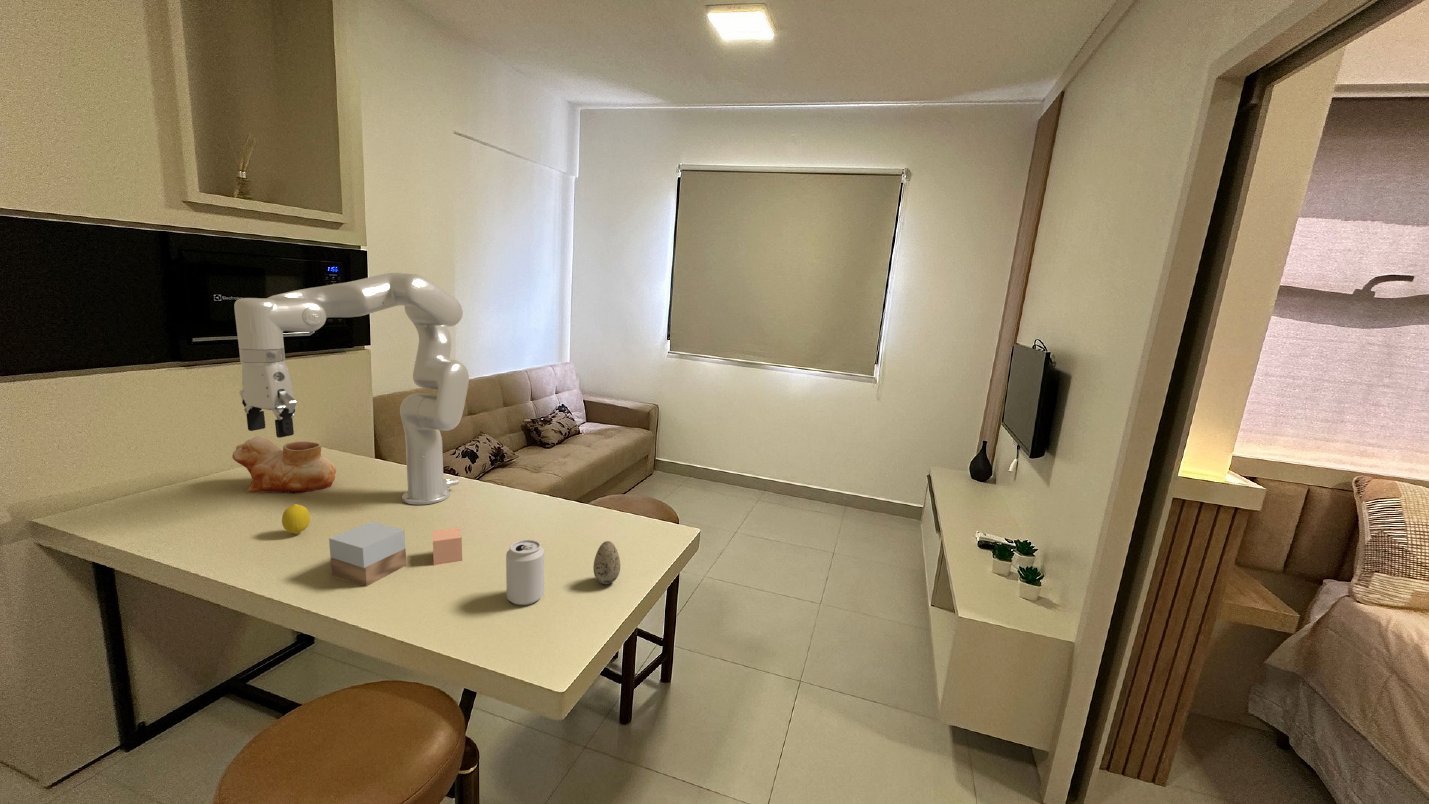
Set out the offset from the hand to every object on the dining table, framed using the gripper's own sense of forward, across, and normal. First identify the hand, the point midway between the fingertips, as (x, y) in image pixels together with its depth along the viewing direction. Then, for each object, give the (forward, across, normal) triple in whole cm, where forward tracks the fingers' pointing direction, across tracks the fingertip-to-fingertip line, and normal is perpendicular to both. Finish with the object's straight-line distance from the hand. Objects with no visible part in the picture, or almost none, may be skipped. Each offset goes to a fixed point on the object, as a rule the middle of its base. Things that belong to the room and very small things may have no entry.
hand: (271, 432), depth 121 cm
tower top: (+25, -24, -4) cm, 34 cm away
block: (+29, -33, -16) cm, 47 cm away
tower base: (+29, -24, -3) cm, 38 cm away
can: (+29, -61, -10) cm, 68 cm away
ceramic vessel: (+29, +42, -26) cm, 58 cm away
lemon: (+29, +7, -7) cm, 31 cm away
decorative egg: (+29, -73, -24) cm, 82 cm away
